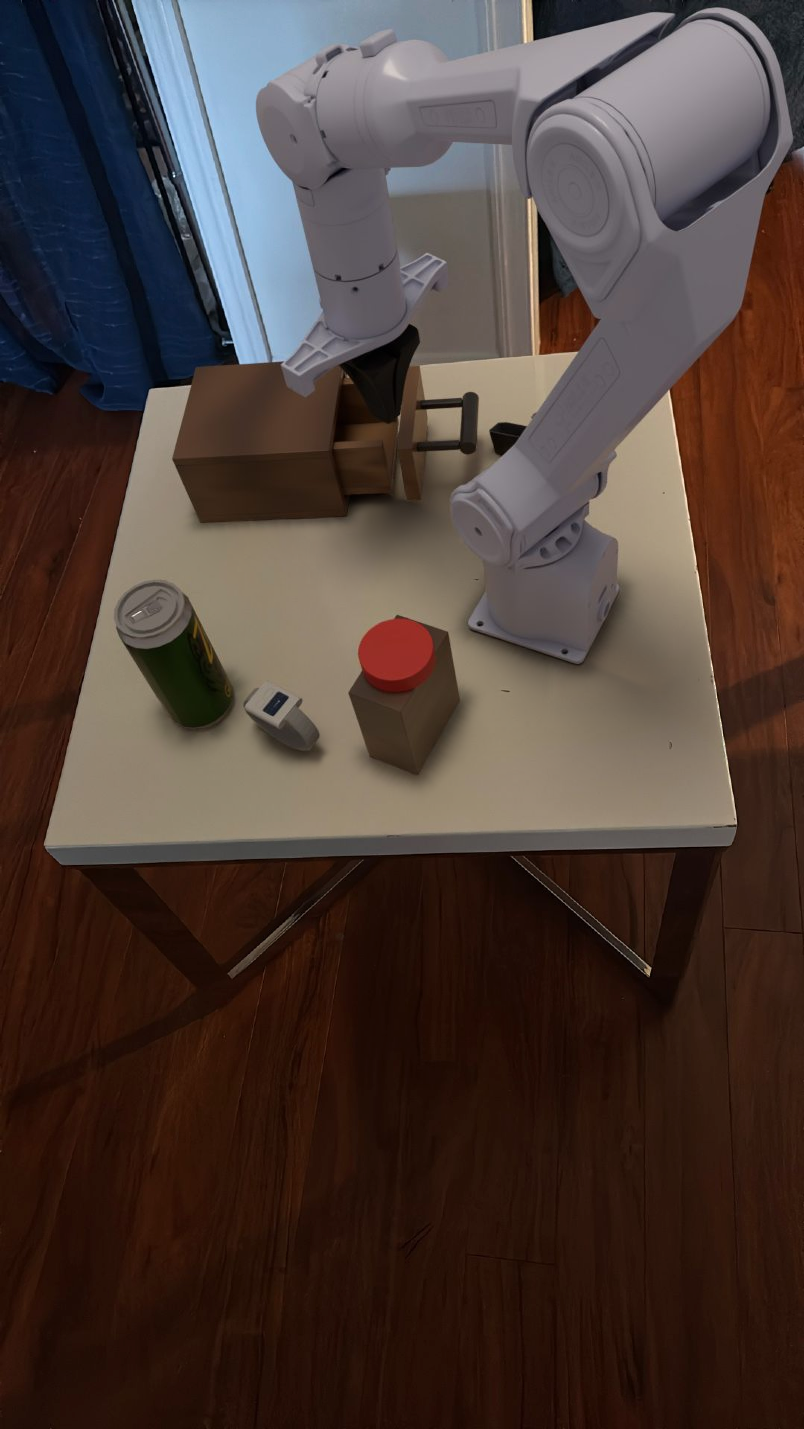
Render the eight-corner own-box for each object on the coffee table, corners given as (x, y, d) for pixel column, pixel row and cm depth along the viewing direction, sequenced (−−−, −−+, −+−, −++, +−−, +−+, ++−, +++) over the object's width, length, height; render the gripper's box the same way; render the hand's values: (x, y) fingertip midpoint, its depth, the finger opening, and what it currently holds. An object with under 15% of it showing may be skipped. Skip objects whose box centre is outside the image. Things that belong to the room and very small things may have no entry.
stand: (460, 699, 77) (448, 631, 70) (417, 775, 74) (400, 712, 67) (412, 682, 79) (396, 614, 72) (369, 756, 76) (347, 692, 69)
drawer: (482, 414, 92) (477, 361, 87) (479, 497, 87) (473, 445, 82) (297, 425, 94) (281, 374, 90) (282, 506, 89) (265, 456, 84)
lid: (448, 644, 70) (446, 631, 68) (414, 702, 68) (411, 690, 66) (383, 622, 71) (380, 609, 70) (348, 678, 69) (344, 665, 68)
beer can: (187, 745, 79) (130, 653, 69) (156, 698, 81) (97, 603, 71) (248, 707, 80) (200, 612, 70) (216, 663, 82) (166, 564, 72)
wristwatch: (246, 733, 78) (227, 698, 74) (268, 707, 79) (251, 670, 75) (310, 770, 76) (294, 735, 72) (332, 741, 77) (318, 705, 73)
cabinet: (358, 425, 95) (343, 356, 88) (346, 516, 89) (328, 450, 82) (220, 433, 97) (195, 366, 90) (199, 522, 91) (171, 458, 85)
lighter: (508, 483, 91) (477, 436, 89) (520, 468, 92) (489, 421, 90) (576, 471, 85) (544, 421, 83) (588, 455, 86) (557, 404, 83)
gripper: (388, 180, 72) (413, 342, 84) (233, 292, 68) (282, 446, 79) (462, 212, 69) (478, 376, 80) (305, 332, 65) (345, 487, 76)
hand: (385, 414), depth 80 cm, fingers closed
